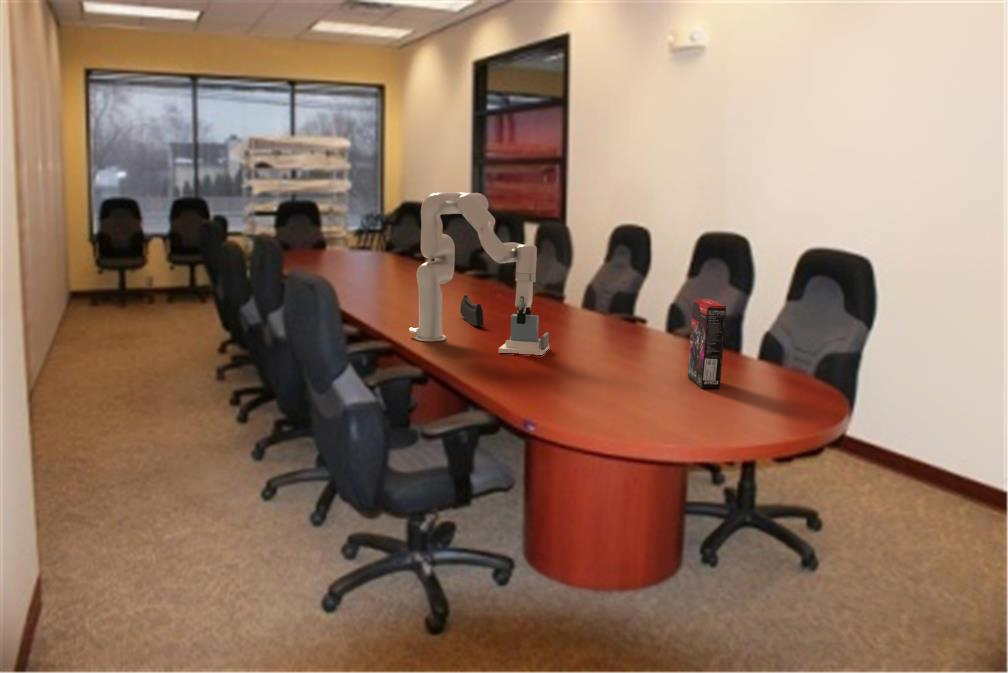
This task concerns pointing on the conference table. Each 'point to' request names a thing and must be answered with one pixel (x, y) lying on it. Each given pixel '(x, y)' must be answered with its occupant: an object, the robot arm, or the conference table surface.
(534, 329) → the gray rectangular block
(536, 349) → the cream railed panel
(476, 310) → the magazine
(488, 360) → the conference table surface
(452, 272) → the robot arm
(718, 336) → the graphics card box
